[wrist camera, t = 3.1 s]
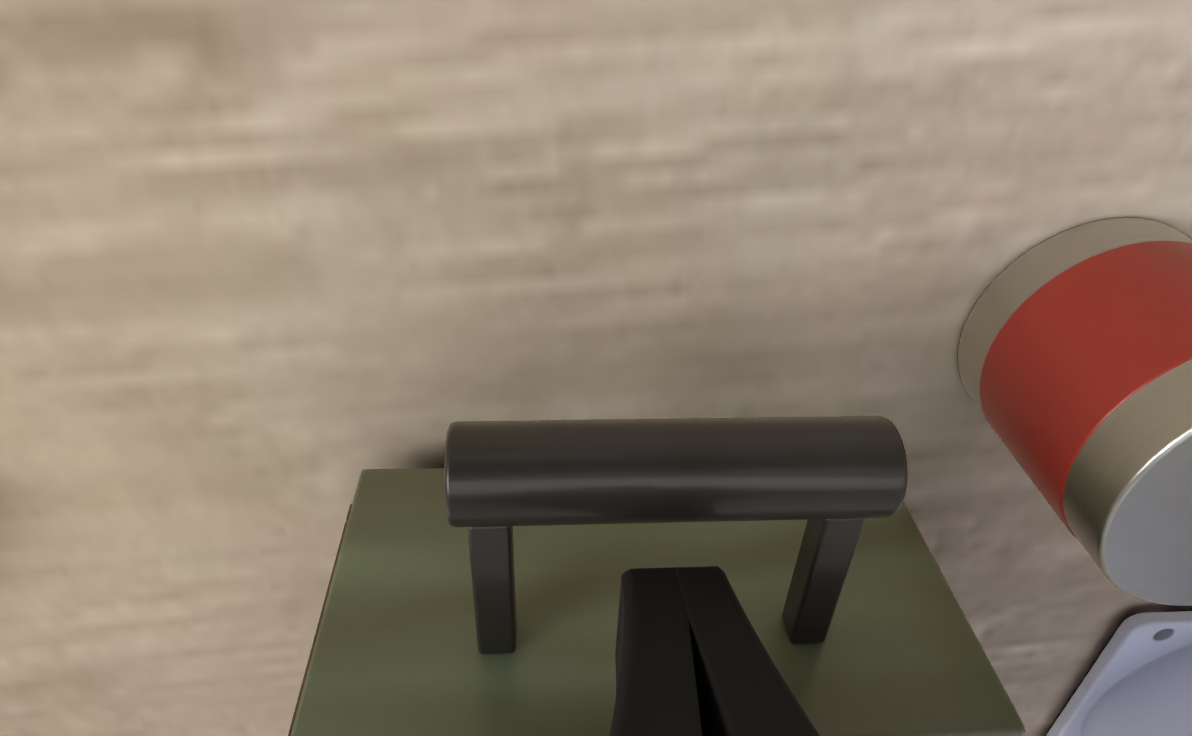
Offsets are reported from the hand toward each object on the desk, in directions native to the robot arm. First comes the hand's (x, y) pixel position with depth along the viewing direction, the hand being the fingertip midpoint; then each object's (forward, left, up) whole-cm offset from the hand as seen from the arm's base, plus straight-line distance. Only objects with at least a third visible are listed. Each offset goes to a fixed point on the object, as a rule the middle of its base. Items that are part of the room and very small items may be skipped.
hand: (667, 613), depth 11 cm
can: (-9, -1, -6) cm, 11 cm away
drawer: (0, +6, -5) cm, 8 cm away
